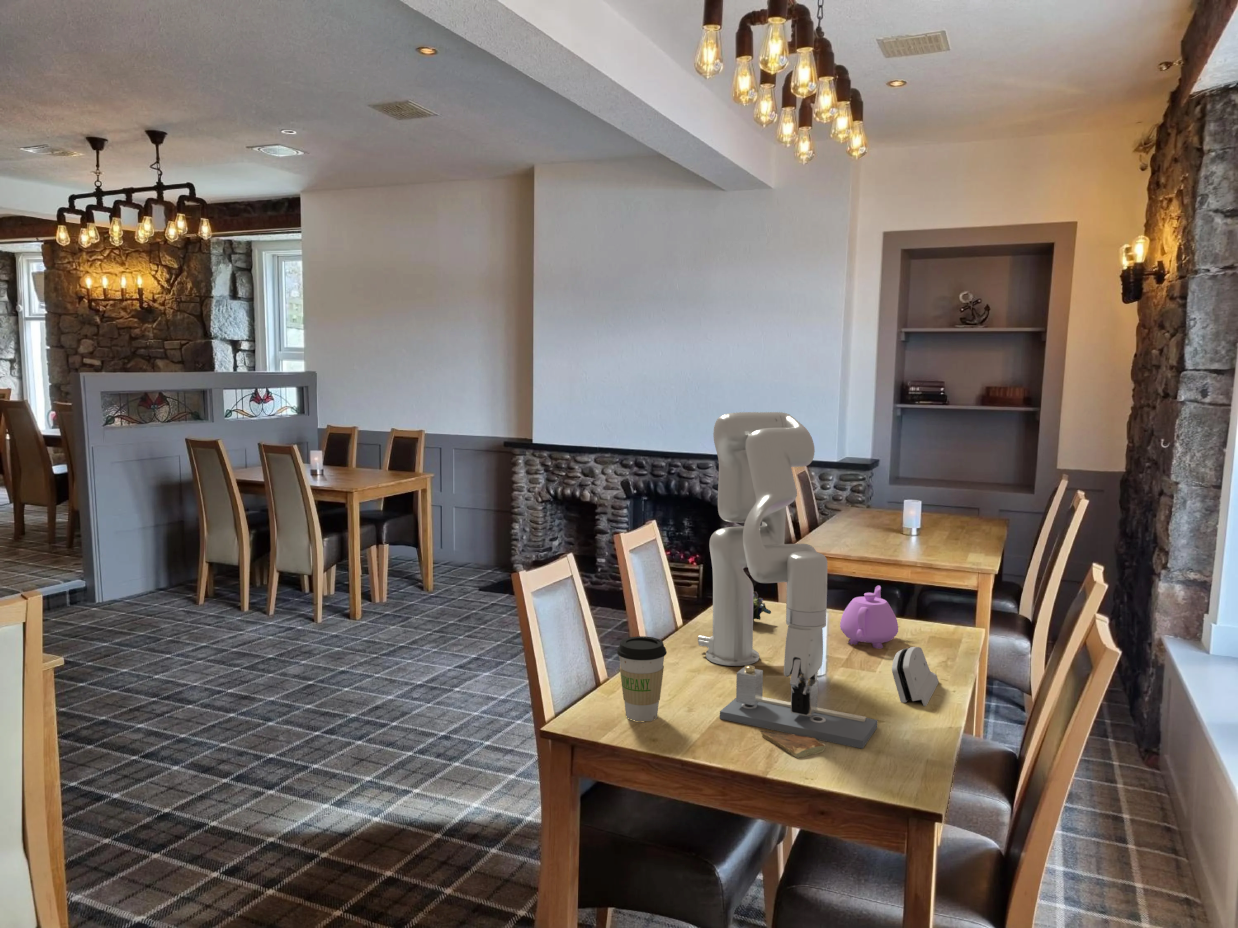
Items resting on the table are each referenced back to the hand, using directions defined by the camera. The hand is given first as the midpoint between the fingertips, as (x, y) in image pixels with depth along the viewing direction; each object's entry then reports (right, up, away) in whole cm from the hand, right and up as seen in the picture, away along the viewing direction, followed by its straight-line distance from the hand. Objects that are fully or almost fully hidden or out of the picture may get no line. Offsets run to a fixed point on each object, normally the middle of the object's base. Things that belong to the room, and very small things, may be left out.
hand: (804, 707), depth 170 cm
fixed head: (-10, -1, +6) cm, 11 cm away
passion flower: (-2, +3, +68) cm, 68 cm away
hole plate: (-1, -3, +1) cm, 4 cm away
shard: (-5, -5, -10) cm, 12 cm away
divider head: (0, -1, 0) cm, 1 cm away
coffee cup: (-31, -3, +4) cm, 32 cm away
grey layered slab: (+27, -2, +18) cm, 33 cm away
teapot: (+28, +2, +53) cm, 60 cm away
